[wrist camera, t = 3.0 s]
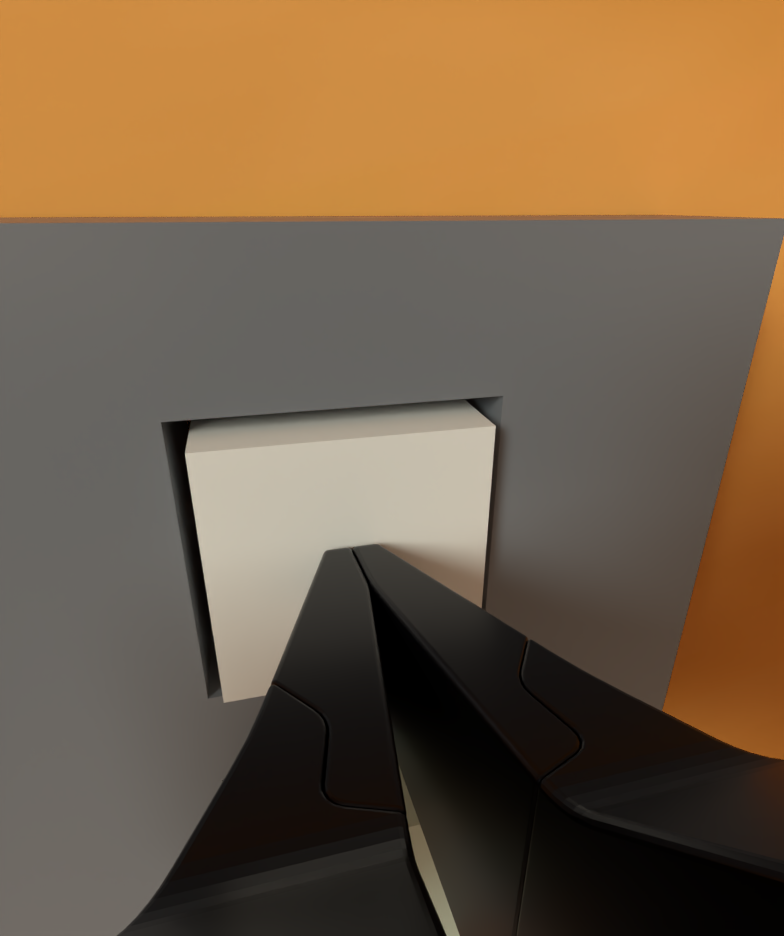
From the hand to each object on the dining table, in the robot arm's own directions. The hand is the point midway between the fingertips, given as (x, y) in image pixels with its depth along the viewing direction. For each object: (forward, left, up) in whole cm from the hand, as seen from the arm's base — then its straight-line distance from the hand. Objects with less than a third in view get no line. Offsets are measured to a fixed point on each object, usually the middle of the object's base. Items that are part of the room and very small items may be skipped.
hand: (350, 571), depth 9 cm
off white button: (0, 0, -3) cm, 3 cm away
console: (0, -7, -3) cm, 8 cm away
